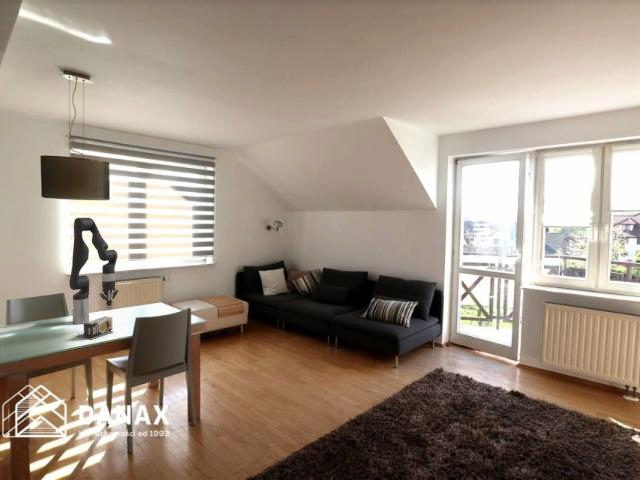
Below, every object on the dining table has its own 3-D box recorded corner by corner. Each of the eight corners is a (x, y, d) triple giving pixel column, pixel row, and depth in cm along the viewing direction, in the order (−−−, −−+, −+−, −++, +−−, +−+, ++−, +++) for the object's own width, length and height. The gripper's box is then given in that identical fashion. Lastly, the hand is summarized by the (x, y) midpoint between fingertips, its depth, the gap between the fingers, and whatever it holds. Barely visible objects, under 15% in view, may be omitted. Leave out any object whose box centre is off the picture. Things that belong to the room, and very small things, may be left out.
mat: (76, 336, 223) (76, 336, 223) (98, 329, 237) (98, 328, 237) (92, 339, 218) (92, 339, 218) (113, 332, 232) (113, 331, 232)
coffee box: (113, 330, 235) (91, 338, 219) (105, 329, 236) (83, 337, 221) (112, 316, 234) (91, 324, 218) (104, 315, 236) (82, 323, 220)
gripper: (113, 277, 242) (114, 302, 243) (95, 281, 229) (95, 307, 231) (121, 278, 239) (122, 303, 240) (103, 282, 227) (104, 308, 228)
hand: (109, 305), depth 236 cm, fingers closed
